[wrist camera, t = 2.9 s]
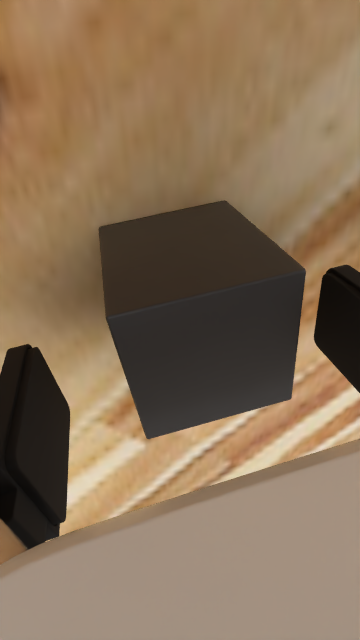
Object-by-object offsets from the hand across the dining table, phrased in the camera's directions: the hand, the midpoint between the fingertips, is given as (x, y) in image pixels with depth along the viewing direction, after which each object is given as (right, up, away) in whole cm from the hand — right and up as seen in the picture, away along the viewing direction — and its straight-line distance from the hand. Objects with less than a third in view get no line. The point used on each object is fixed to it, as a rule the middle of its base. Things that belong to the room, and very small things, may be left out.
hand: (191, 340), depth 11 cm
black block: (-1, +3, +3) cm, 4 cm away
